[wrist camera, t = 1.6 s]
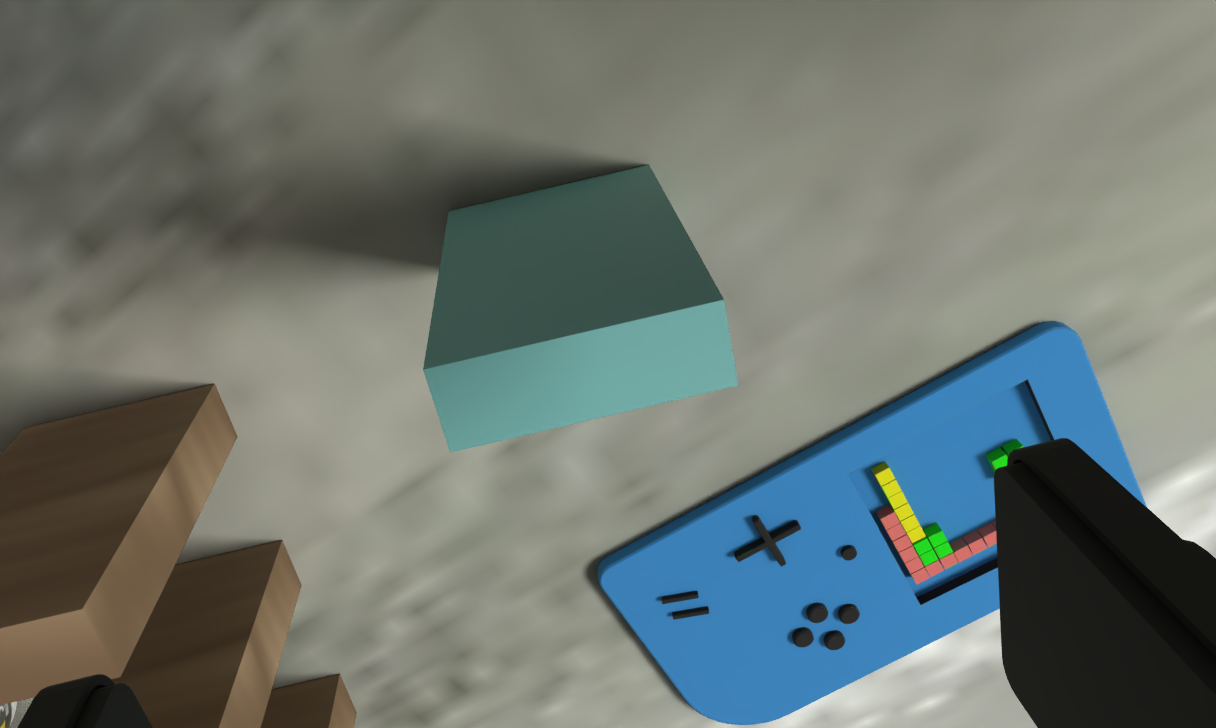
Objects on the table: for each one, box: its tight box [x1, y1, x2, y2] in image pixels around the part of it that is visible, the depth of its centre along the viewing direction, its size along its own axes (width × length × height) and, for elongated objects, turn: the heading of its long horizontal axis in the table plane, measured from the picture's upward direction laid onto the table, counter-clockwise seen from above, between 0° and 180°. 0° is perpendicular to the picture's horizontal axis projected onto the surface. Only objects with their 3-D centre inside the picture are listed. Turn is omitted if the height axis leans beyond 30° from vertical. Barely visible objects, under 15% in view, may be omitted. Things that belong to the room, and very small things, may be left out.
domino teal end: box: [423, 165, 738, 452], centre depth 21 cm, size 2×5×9 cm, turn 102°
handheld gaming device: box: [597, 321, 1146, 725], centre depth 30 cm, size 8×1×15 cm
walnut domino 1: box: [0, 384, 237, 705], centre depth 22 cm, size 2×5×9 cm, turn 102°
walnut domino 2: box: [112, 540, 301, 728], centre depth 24 cm, size 2×5×9 cm, turn 102°
